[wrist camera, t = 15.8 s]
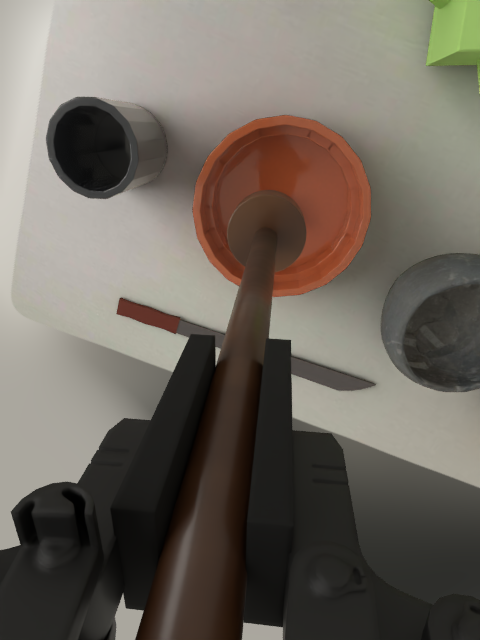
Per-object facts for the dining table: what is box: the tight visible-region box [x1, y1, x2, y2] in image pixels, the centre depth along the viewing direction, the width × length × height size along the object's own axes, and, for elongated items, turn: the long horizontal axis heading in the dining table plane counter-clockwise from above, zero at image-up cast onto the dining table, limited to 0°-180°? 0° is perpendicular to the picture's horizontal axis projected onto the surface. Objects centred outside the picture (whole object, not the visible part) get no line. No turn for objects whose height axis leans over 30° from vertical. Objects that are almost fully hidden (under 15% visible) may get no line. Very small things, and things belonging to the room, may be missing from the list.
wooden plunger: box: [135, 190, 306, 640], centre depth 18 cm, size 6×6×30 cm
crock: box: [46, 97, 167, 199], centre depth 42 cm, size 8×8×10 cm
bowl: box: [381, 253, 480, 392], centre depth 45 cm, size 15×15×10 cm
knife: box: [117, 298, 376, 390], centre depth 55 cm, size 3×35×1 cm, turn 72°
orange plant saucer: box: [192, 115, 371, 297], centre depth 45 cm, size 18×18×6 cm
